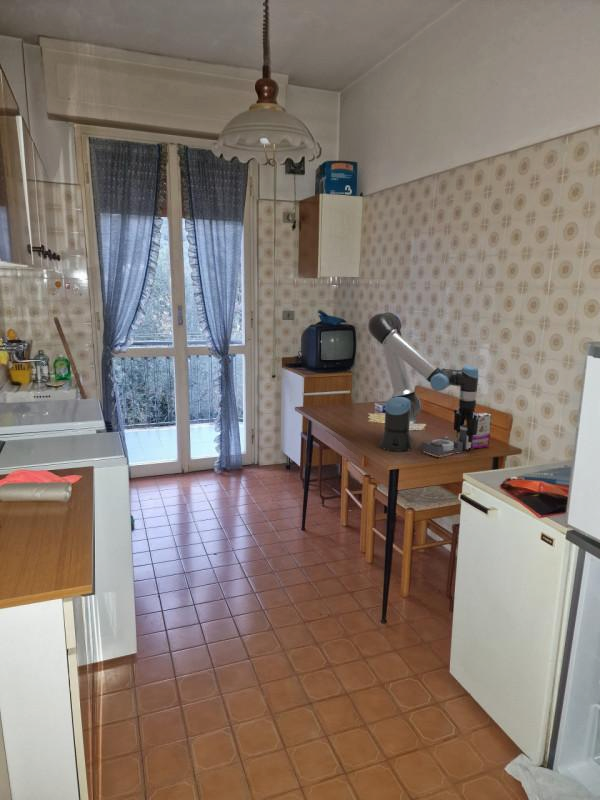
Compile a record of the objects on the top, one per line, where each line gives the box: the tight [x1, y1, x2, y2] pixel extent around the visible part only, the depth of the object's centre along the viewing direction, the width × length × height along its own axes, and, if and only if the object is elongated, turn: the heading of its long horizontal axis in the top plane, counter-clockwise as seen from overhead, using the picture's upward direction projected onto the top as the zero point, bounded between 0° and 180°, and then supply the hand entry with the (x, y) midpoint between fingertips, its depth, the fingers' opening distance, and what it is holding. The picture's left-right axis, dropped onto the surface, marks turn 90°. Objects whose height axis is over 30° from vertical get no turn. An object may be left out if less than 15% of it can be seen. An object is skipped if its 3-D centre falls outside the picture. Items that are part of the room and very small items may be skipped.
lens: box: [459, 424, 470, 451], centre depth 257 cm, size 5×5×12 cm
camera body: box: [421, 436, 463, 456], centre depth 252 cm, size 16×10×6 cm, turn 122°
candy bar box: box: [465, 412, 492, 450], centre depth 260 cm, size 11×5×16 cm, turn 114°
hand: (463, 446), depth 258 cm, fingers closed on lens, 4 cm apart
